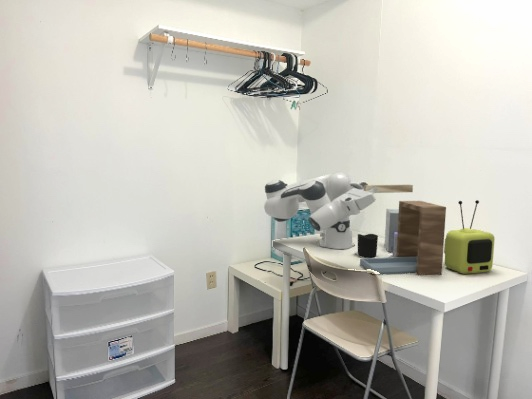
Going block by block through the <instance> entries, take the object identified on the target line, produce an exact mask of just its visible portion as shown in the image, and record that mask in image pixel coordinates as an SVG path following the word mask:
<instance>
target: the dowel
mask: <svg viewBox="0 0 532 399" xmlns="http://www.w3.org/2000/svg"><path fill="white" fill-rule="evenodd" d="M373 187H377V189H378V191H376V192H375V193H374V194H377V193H378V194H380V193H381V194H382V193H383V194H385V193H386V194H388V193H389V194H391V193H413V192H414V191H413V190H414V188H413V187H414V185H413V184H364V186H363V189H364V191H370V190H371V188H373Z"/></svg>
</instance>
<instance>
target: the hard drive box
mask: <svg viewBox="0 0 532 399" xmlns="http://www.w3.org/2000/svg"><path fill="white" fill-rule="evenodd" d="M385 211H386V212H385V229H384V230H385V231H384V233H385V234H384V246H385V249H386V250H387V252H388V253H393V232H398V214H399V208H386V209H385Z"/></svg>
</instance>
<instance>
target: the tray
mask: <svg viewBox="0 0 532 399" xmlns="http://www.w3.org/2000/svg"><path fill="white" fill-rule="evenodd" d="M359 266H361V267H362V268H363V269H364V270H366V269H371V270H374V271H377V272H379V273H380V274H382V275H383V274H386V275H403V274H405V273H406V274H405V275H407V273H410V274H417V257H392V256H391V257H374V258H364V257H362V258H359ZM382 275H381V276H382Z"/></svg>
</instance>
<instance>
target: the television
mask: <svg viewBox="0 0 532 399" xmlns="http://www.w3.org/2000/svg"><path fill="white" fill-rule="evenodd" d="M479 203H480V201H479V200H478V199H476V200H475V207H474V211H473V215H472V219H471V222H470V226H469V227H466V228H465V225H464V216H463V206H462V204H463V201H461V200H458V205H459V206H460V216H461V223H462V228H460V229H455V230H449V231H448V232H447V233H446V236H445V237H444V248H443V254H444V266H445V268H447V269H450V270H452V271H453V272H456V273H459V274H462V275H469V274H478V273H487V272H489V271H491V270H492V268H493V262H494V253H495V252H494V250H495V236H494V234H493V233H491V232H487V231H484V230H481V229H475V228H472V227H473V224H474V218H475V214H476V211H477V206H478V204H479Z"/></svg>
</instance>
